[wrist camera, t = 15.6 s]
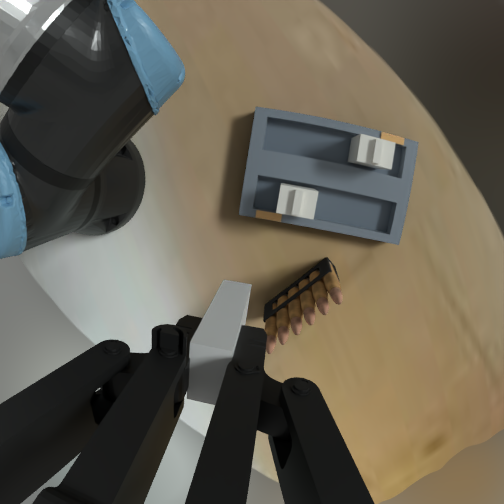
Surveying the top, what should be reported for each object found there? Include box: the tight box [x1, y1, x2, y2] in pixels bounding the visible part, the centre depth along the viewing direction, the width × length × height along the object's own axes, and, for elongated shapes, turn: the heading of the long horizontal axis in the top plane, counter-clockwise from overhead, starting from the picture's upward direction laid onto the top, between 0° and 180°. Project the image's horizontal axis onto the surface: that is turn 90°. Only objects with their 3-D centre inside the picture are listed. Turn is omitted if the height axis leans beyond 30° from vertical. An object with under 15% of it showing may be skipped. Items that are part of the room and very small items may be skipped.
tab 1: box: [276, 183, 318, 219], centre depth 35 cm, size 4×3×6 cm
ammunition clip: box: [263, 257, 343, 354], centre depth 36 cm, size 11×2×12 cm, turn 132°
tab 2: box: [348, 134, 396, 169], centre depth 33 cm, size 4×3×6 cm
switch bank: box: [239, 107, 418, 245], centre depth 37 cm, size 20×13×3 cm, turn 81°
